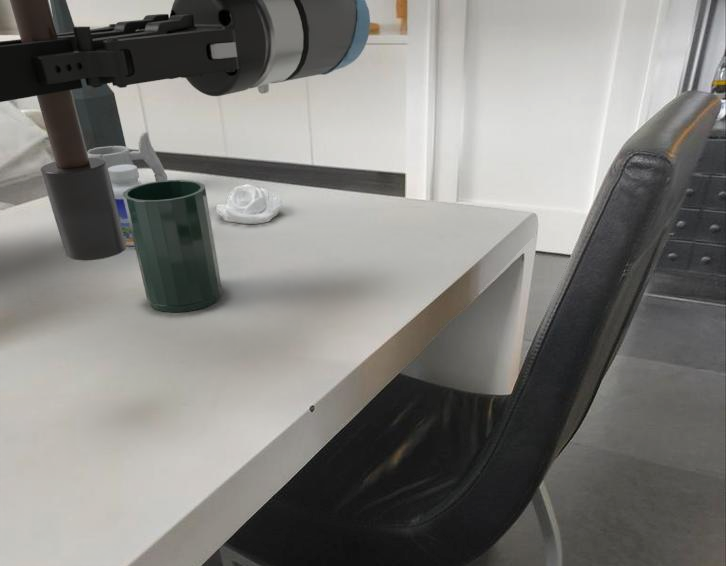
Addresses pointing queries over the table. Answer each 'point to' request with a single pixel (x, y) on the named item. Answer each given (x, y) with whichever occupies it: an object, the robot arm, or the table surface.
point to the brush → (71, 160)
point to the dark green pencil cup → (174, 244)
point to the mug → (131, 156)
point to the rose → (249, 205)
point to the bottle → (91, 97)
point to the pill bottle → (121, 181)
